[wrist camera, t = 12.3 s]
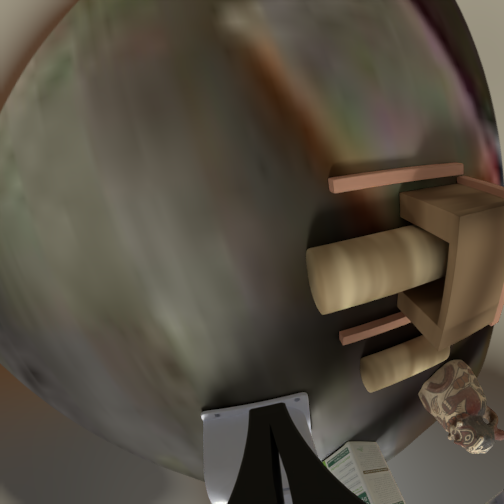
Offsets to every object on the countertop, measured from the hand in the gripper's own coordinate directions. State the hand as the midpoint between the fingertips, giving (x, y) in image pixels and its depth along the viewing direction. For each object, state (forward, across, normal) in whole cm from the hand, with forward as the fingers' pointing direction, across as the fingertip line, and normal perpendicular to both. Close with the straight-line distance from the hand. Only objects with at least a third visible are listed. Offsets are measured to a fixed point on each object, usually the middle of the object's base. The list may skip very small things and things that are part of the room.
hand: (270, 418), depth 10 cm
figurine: (+10, -20, +18) cm, 29 cm away
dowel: (+10, -10, -1) cm, 14 cm away
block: (+9, -14, -1) cm, 17 cm away
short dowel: (+9, -12, +8) cm, 17 cm away
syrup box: (+10, -8, +27) cm, 30 cm away
